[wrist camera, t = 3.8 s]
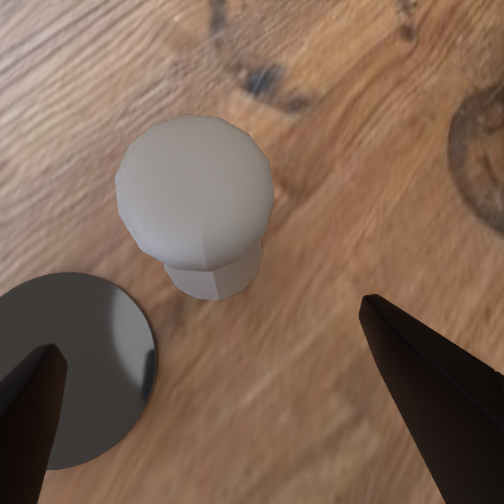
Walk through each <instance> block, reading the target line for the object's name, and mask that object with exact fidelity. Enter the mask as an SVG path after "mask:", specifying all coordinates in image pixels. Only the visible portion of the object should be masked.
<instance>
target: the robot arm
mask: <svg viewBox="0 0 504 504" xmlns="http://www.w3.org/2000/svg"><path fill="white" fill-rule="evenodd" d="M359 320H360V323H361V326H362V328H363V331H364V334H365V336H366V339H367V342H368V344H369V347H370V350H371V353H372V355H373V358H374V360H375V363H376V365H377V368H378V370H379V372H380V374H381V376H382V378H383V380H384V382H385V384H386V386H387V388H388V390H389V392H390V394H391V396H392V398H393V400H394V402H395V404H396V406H397V408H398V410H399V412H400V414H401V416H402V418H403V420H404V422H405V424H406V425H407V427H408V429H409V431H410V433H411V435H412V437H413V439H414V441H415V443H416V445H417V447H418V449H419V451H420V453H421V455H422V457H423V459H424V461H425V463H426V465H427V467H428V469H429V471H430V473H431V475H432V477H433V479H434V481H435V483H436V485H437V487H438V489H439V491H440V493H441V495H442V497H443V499H444V501H445V503H446V504H504V375H502V374H501V373H499V372H497V371H496V372H495V370H494V369H493V368H491V367H490V366H488V365H487V364H485V363H484V362H482V361H480V360H479V359H477V358H476V357H474V356H473V355H471V354H470V353H468V352H467V351H465V350H463V349H462V348H460V347H459V346H457V345H456V344H454V343H453V342H451V341H450V340H448V339H446V338H445V337H443V336H442V335H440V334H439V333H437V332H436V331H434V330H432V329H431V328H429V327H428V326H426V325H425V324H423V323H422V322H420V321H419V320H417V319H415V318H414V317H412V316H411V315H409V314H408V313H406V312H405V311H403V310H402V309H400V308H398V307H397V306H395V305H394V304H392V303H391V302H389V301H388V300H386V299H385V298H383V297H381V296H380V295H378V294H371V295H365V296H364V297H363V298H362V302H361V306H360V311H359ZM67 369H68V364H67V360H66V358H65V357H64V355H63V354H62V352H61V351H60V349H59V348H58V346H57V345H56V344H54V343H49V344H43V345H39V346H37V347H35V348H34V349H33V350H32V351H31V352H30V353H29V354H28V355H27V356H26V357H25V358H24V359H23V360H21V361H20V362H19V363H18V364H17V365H16V366H15V367H14V368H13V369H12V370H11V371H10V372H9V373H8V374H7V375H6V376H5V377H4V378H3V379H2V380H0V504H37V502H38V499H39V495H40V491H41V487H42V484H43V480H44V476H45V473H46V469H47V465H48V462H49V458H50V454H51V451H52V447H53V443H54V439H55V436H56V432H57V428H58V424H59V419H60V414H61V408H62V401H63V395H64V389H65V382H66V376H67Z"/></svg>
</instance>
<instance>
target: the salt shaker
mask: <svg viewBox="0 0 504 504" xmlns="http://www.w3.org/2000/svg"><path fill="white" fill-rule="evenodd" d="M115 186H116V196H117V205H118V213H119V215H120V217H121V219H122V221H123V223H124V224H125V226H126V227H127V229H128V230H129V232H130V234H131V235H132V237H133V238H134V240H135V241H136V243H137V245H138V246H139V248H140V249H141V251H143V252H145V253H147V254H149V255H150V256H152V257H154V258H156V259H157V260H159V261H161V262H163V267H164V269H165V271H166V272H167V274H168V276H169V277H170V279H171V280H172V282H173V284H174V285H175V287H176V288H178V289H180V290H182V291H183V292H185V293H187V294H189V295H190V296H192V297H194V298H196V299H205V300H218V301H220V300H222V299H225V298H227V297H230V296H232V295H235V294H237V293H240V292H242V290H243V289H244V288H245V287H246V286H247V285H248V284H249V283H250V282H251V281H252V280H253V279H254V278H255V276H256V275H257V272H258V269H259V266H260V262H261V259H262V256H263V250H262V244H261V238H262V237H263V236H264V234H265V233H266V229H267V226H268V222H269V219H270V216H271V212H272V209H273V205H274V191H273V185H272V178H271V172H270V166H269V161H268V159H267V158H266V157H265V155H264V154H263V153H262V151H261V150H260V149H259V147H258V146H257V144H256V143H255V142H254V140H253V139H252V138H251V136H250V135H249V134H247V133H246V132H244V131H242V130H241V129H239V128H237V127H236V126H234V125H232V124H230V123H229V122H227V121H225V120H224V119H222V118H220V117H210V116H200V115H190V114H185V115H182V116H178V117H175V118H172V119H168V120H165V121H162V122H158V123H155V124H153V125H152V126H150V127H149V128H148V129H147V130H146V131H145V132H144V133H143V134H142V135H141V136H139V137H138V138H137V139H136V140H135V141H134V142H133V143H132V144H131V145H130V146H129V147H128V148H127V150H126V153H125V155H124V158H123V160H122V162H121V165H120V167H119V169H118V172H117V174H116V177H115Z"/></svg>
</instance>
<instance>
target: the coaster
mask: <svg viewBox="0 0 504 504" xmlns="http://www.w3.org/2000/svg"><path fill="white" fill-rule="evenodd" d="M49 343H54V344H56V345H57V346H58V348H59V349H60V351H61V352H62V354H63V355H64V357H65V358H66V360H67V364H68V369H67V376H66V382H65V389H64V395H63V401H62V408H61V414H60V419H59V424H58V428H57V432H56V436H55V439H54V443H53V447H52V451H51V454H50V458H49V462H48V465H47V469H46V470H59V469H64V468H70V467H74V466H77V465H80V464H83V463H86V462H88V461H90V460H92V459H94V458H96V457H98V456H100V455H101V454H103V453H104V452H106V451H108V450H109V449H111V448H112V447H113V446H114V445H115V444H117V443H118V442H119V441H120V440H121V439H122V438H123V437H124V436H125V435H126V434H127V433H128V432H129V431H130V430H131V428H132V427H133V426H134V424H135V423H136V422H137V420H138V419H139V418H140V416H141V415H142V413H143V411H144V409H145V408H146V406H147V404H148V401H149V399H150V397H151V394H152V391H153V388H154V384H155V381H156V374H157V367H158V353H157V344H156V339H155V335H154V331H153V329H152V326H151V324H150V321H149V319H148V318H147V316H146V314H145V312H144V311H143V309H142V308H141V307H140V305H139V304H138V303H137V301H136V300H135V299H134V298H133V297H132V296H131V295H130V294H128V293H127V292H126V291H124V290H123V289H122V288H120V287H119V286H117V285H115V284H114V283H112V282H110V281H107V280H105V279H102V278H100V277H96V276H92V275H88V274H82V273H55V274H48V275H44V276H41V277H37V278H34V279H32V280H29V281H26V282H24V283H22V284H20V285H18V286H17V287H15V288H13V289H11V290H10V291H8V292H7V293H6V294H4V295H3V296H1V297H0V380H2V379H3V378H4V377H5V376H6V375H7V374H8V373H9V372H10V371H11V370H12V369H13V368H14V367H15V366H16V365H17V364H18V363H19V362H20V361H21V360H23V359H24V358H25V357H26V356H27V355H28V354H29V353H30V352H31V351H32V350H33V349H34V348H35V347H37V346H39V345H43V344H49Z"/></svg>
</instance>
